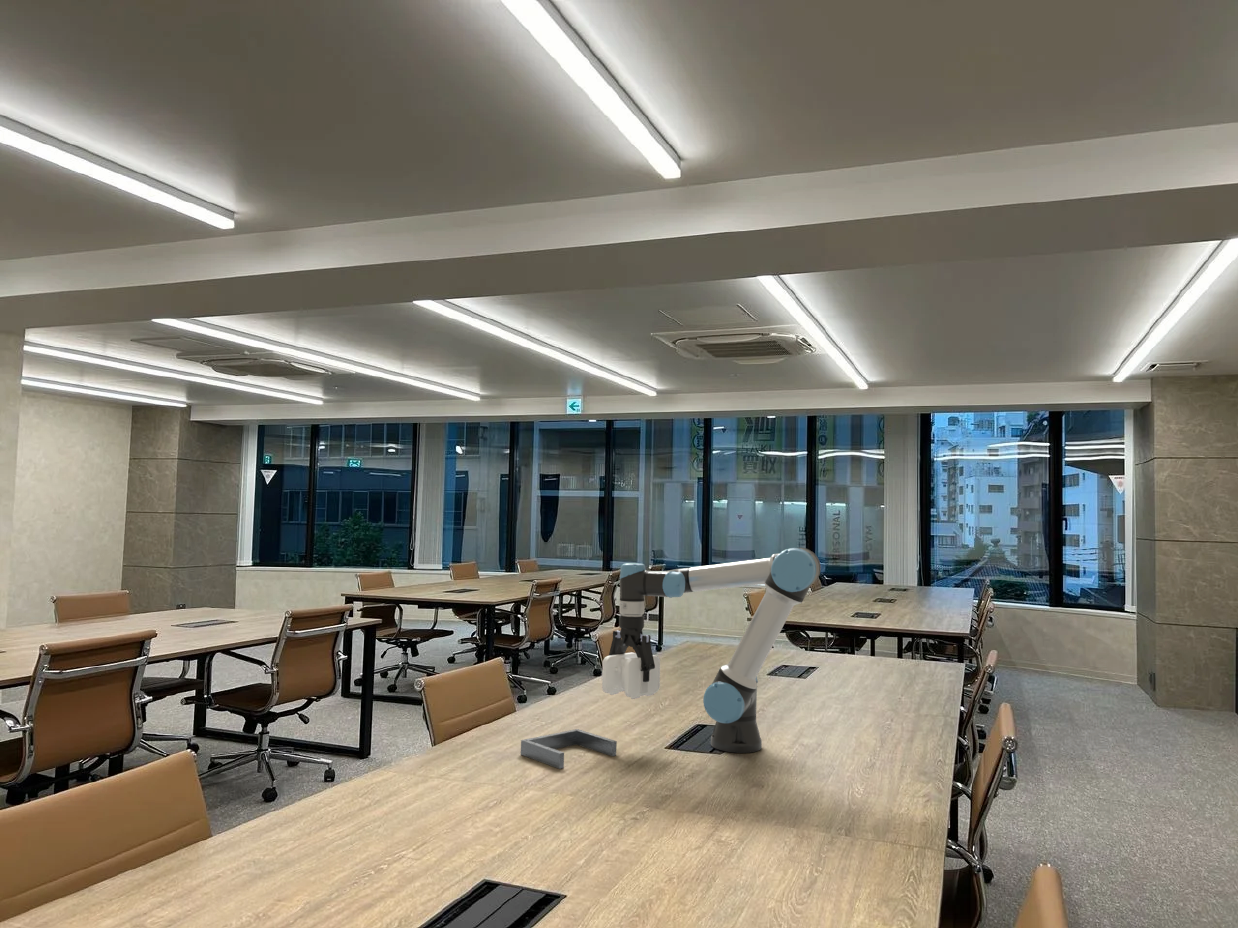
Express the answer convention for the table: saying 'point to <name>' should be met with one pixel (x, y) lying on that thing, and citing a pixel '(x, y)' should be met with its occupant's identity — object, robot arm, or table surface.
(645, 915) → the table surface
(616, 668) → the cable organizer
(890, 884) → the table surface
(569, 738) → the bracket
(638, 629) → the robot arm
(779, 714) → the table surface
